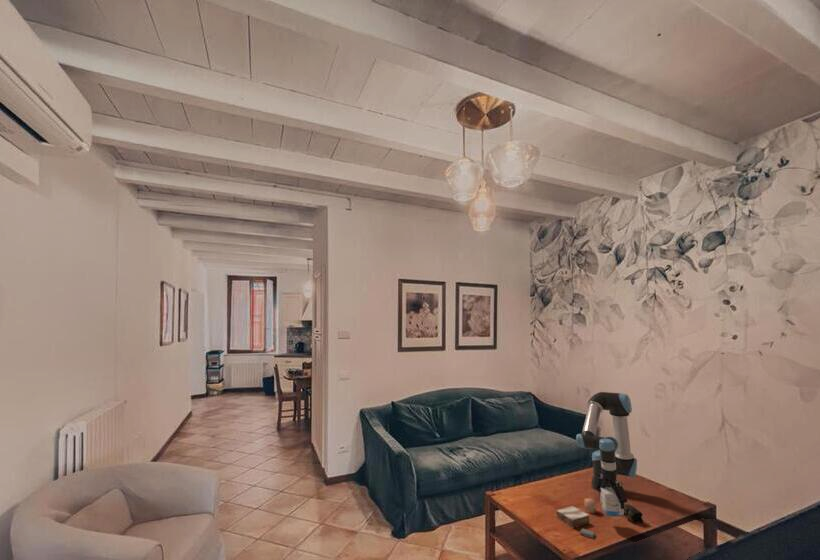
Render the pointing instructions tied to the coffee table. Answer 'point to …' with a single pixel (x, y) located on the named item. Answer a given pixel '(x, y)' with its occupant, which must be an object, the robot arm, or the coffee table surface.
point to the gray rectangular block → (587, 533)
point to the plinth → (573, 516)
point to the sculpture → (632, 513)
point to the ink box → (610, 502)
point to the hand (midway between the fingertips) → (612, 509)
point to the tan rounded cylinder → (590, 505)
